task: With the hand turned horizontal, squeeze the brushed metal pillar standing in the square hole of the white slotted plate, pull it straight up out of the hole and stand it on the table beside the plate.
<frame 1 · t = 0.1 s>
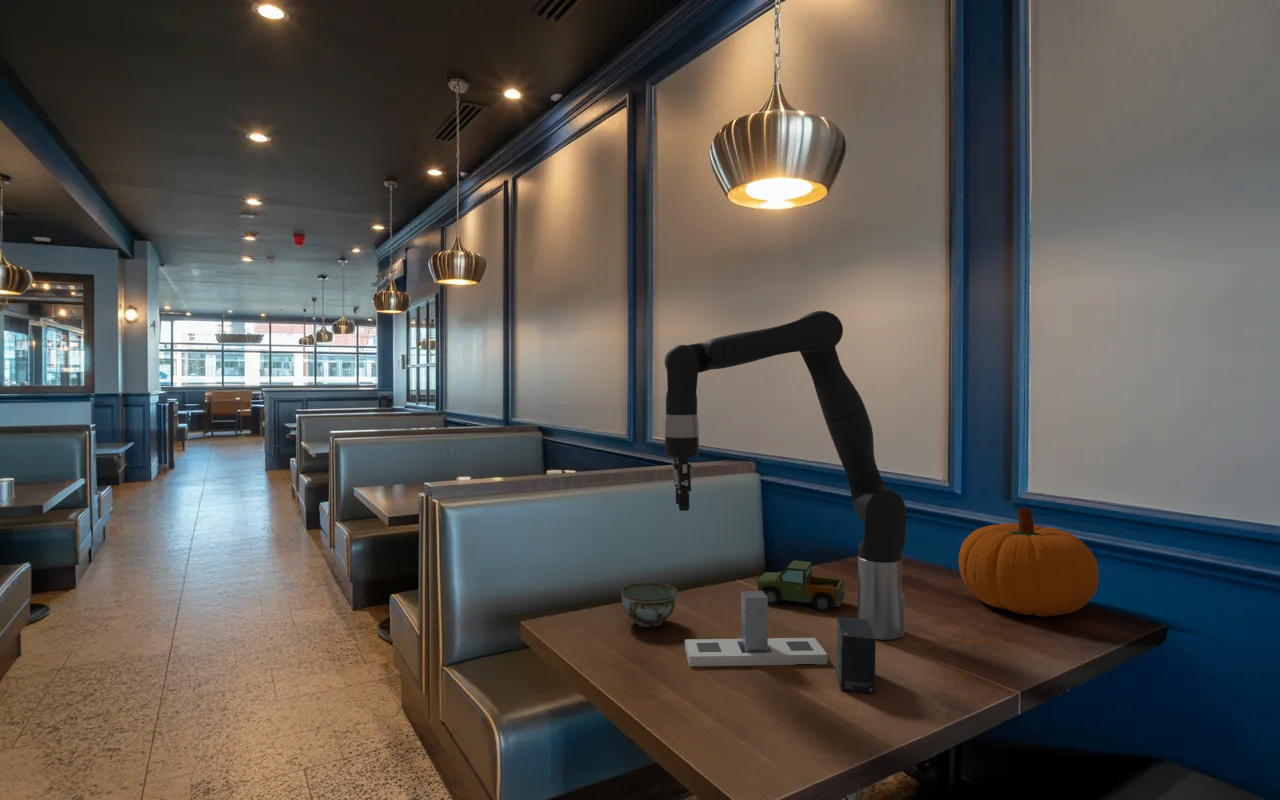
hand: (682, 507, 151), 29 cm above the table, tool pointing down, fingers open, 8 cm apart
white slotted plate: (754, 656, 140), on the table
brushed metal pillar: (754, 625, 140), in the white slotted plate
small box: (855, 681, 128), on the table
decorative pumpkin: (1025, 606, 171), on the table
toy truck: (800, 603, 174), on the table
bowl: (649, 624, 159), on the table
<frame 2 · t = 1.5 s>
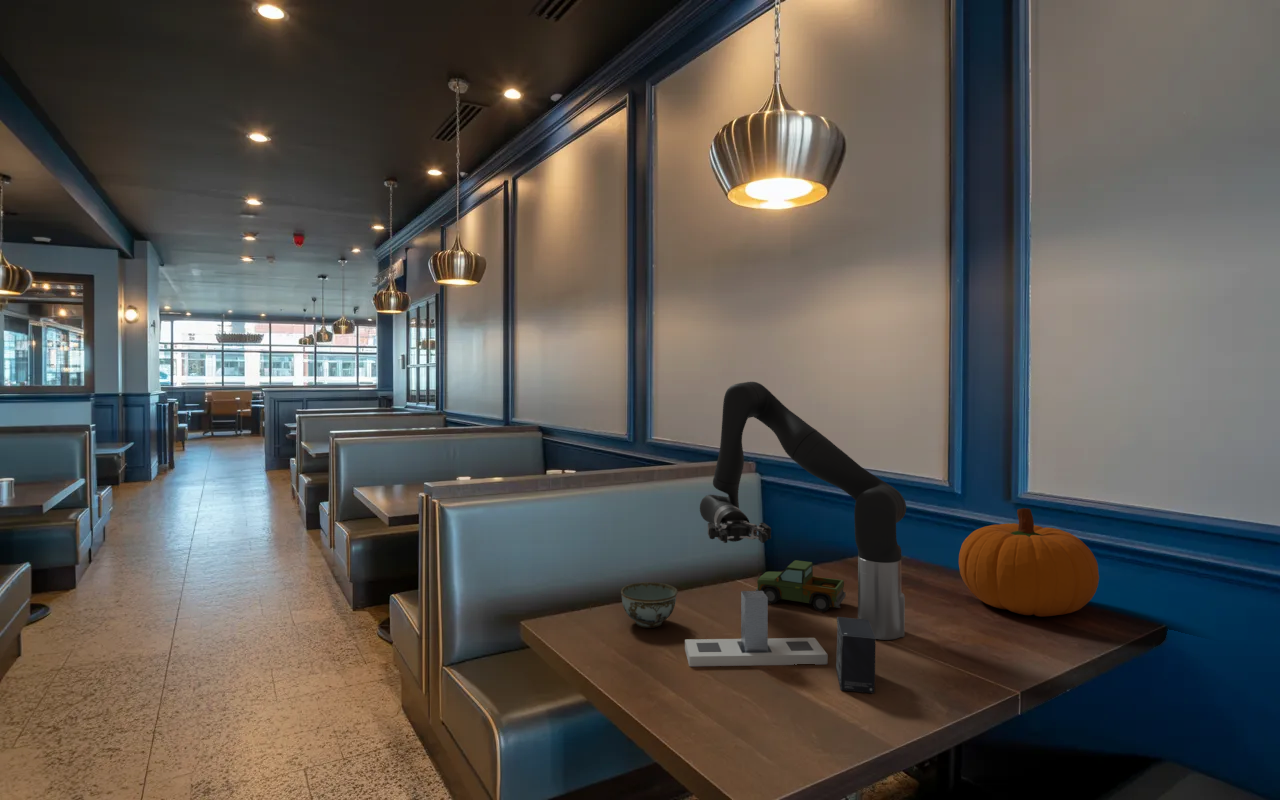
hand: (745, 538, 150), 22 cm above the table, tool horizontal, fingers open, 8 cm apart
nothing on the table moved.
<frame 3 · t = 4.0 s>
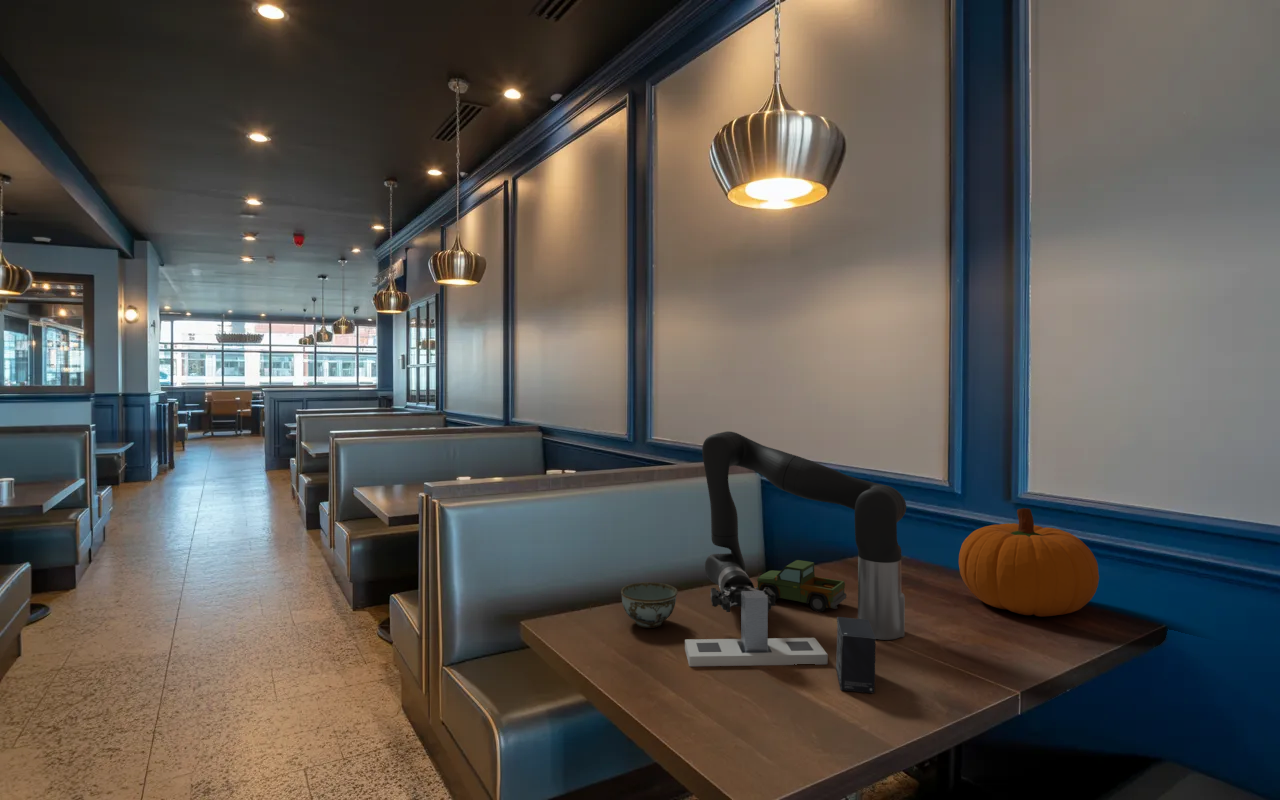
hand: (748, 607, 146), 8 cm above the table, tool horizontal, fingers open, 8 cm apart
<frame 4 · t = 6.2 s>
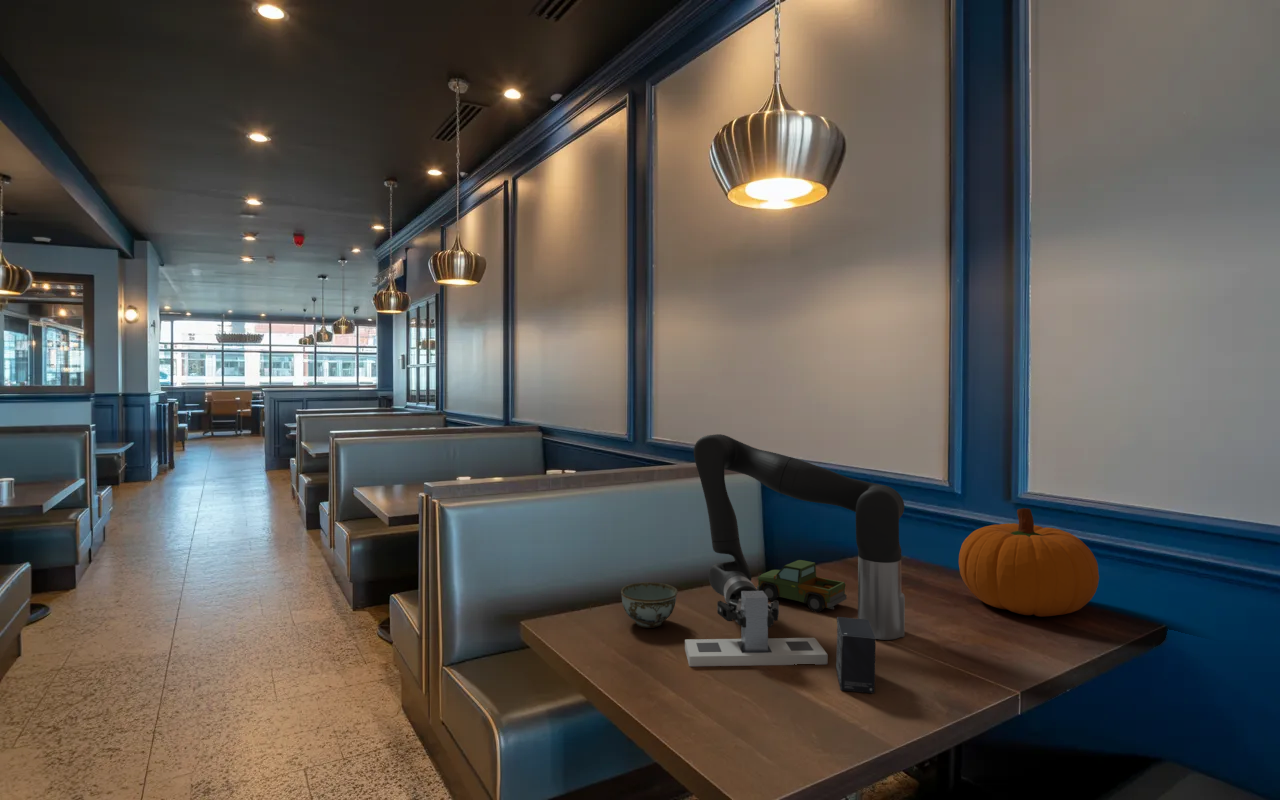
hand: (757, 622, 137), 8 cm above the table, tool horizontal, fingers closed on brushed metal pillar, 4 cm apart
brushed metal pillar: (754, 625, 140), in the white slotted plate, touching gripper
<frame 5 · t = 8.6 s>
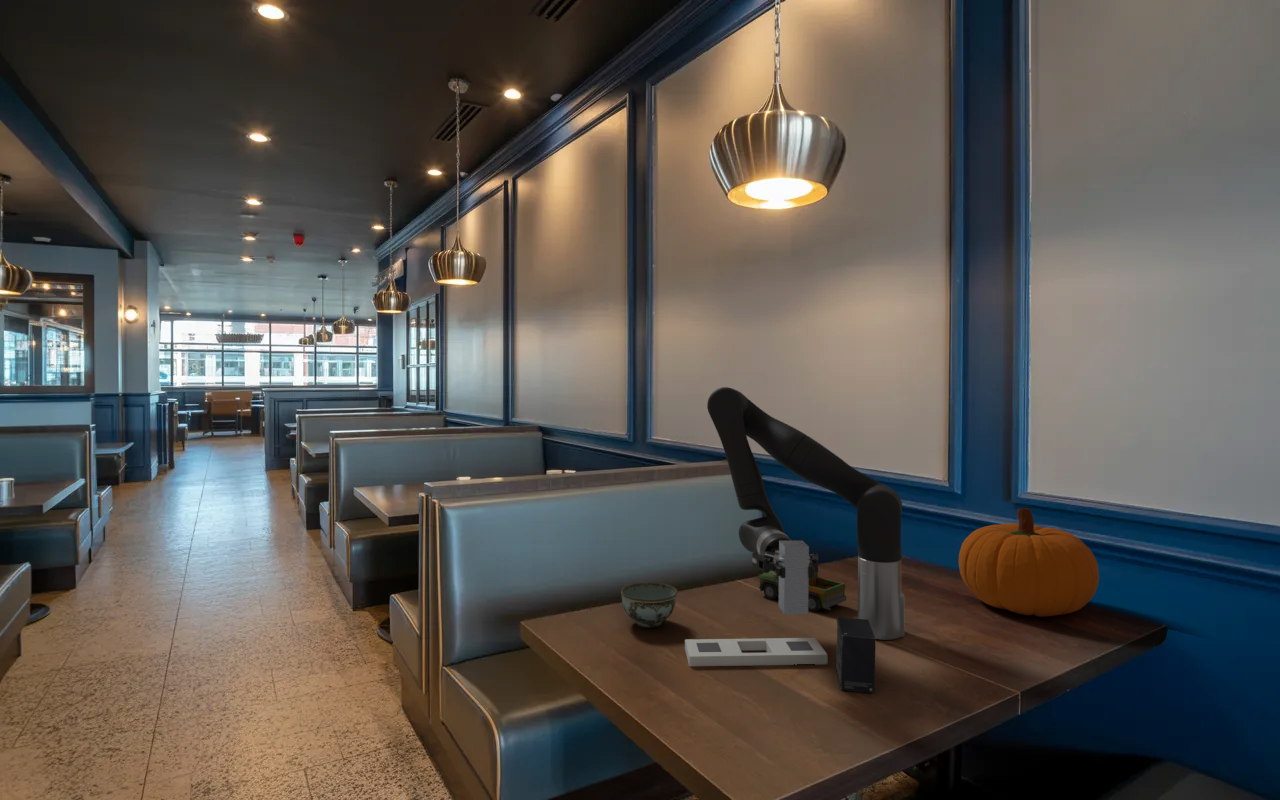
hand: (797, 572, 127), 21 cm above the table, tool horizontal, fingers closed on brushed metal pillar, 4 cm apart
brushed metal pillar: (793, 576, 130), point 19 cm above the table, touching gripper
when the fingers open (9 cm above the table, at t = 11.2 s): brushed metal pillar drops 1 cm, on the table.
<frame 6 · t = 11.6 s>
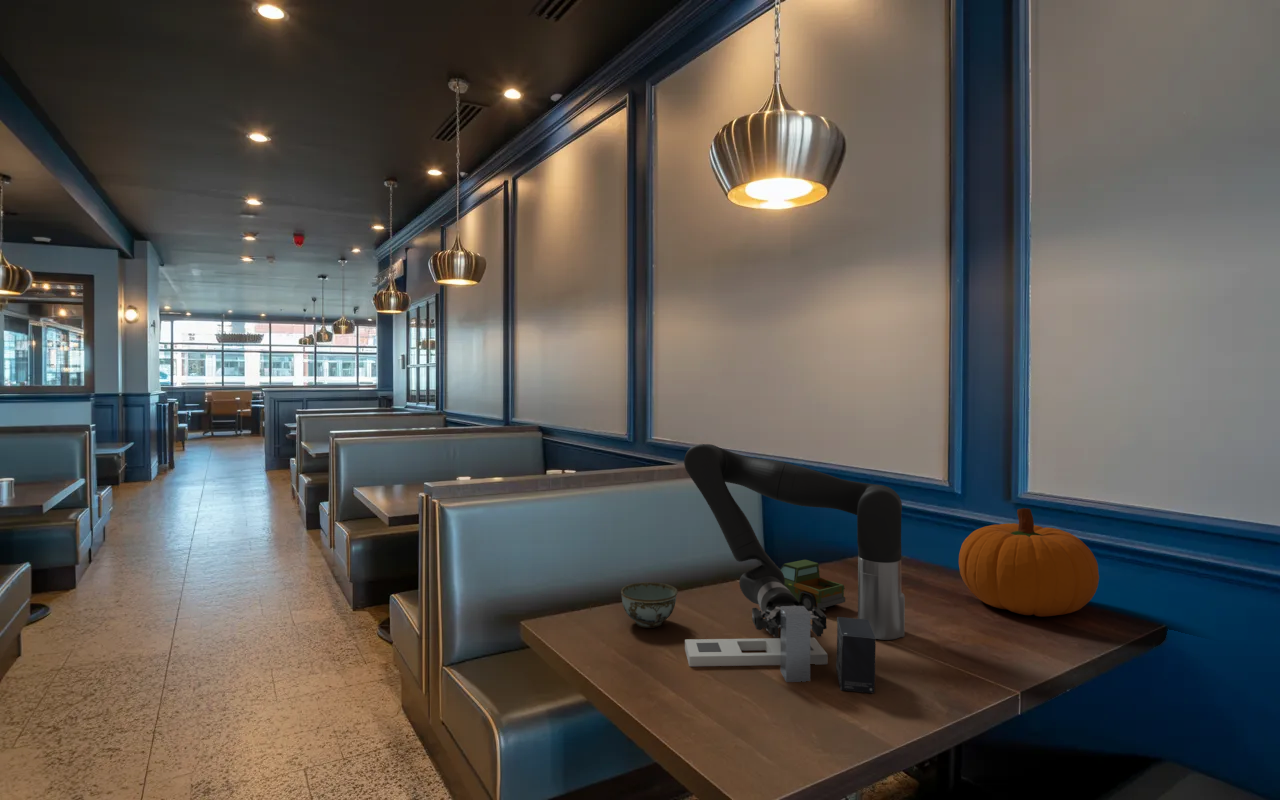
hand: (798, 631, 128), 10 cm above the table, tool horizontal, fingers open, 8 cm apart
brushed metal pillar: (795, 643, 130), on the table
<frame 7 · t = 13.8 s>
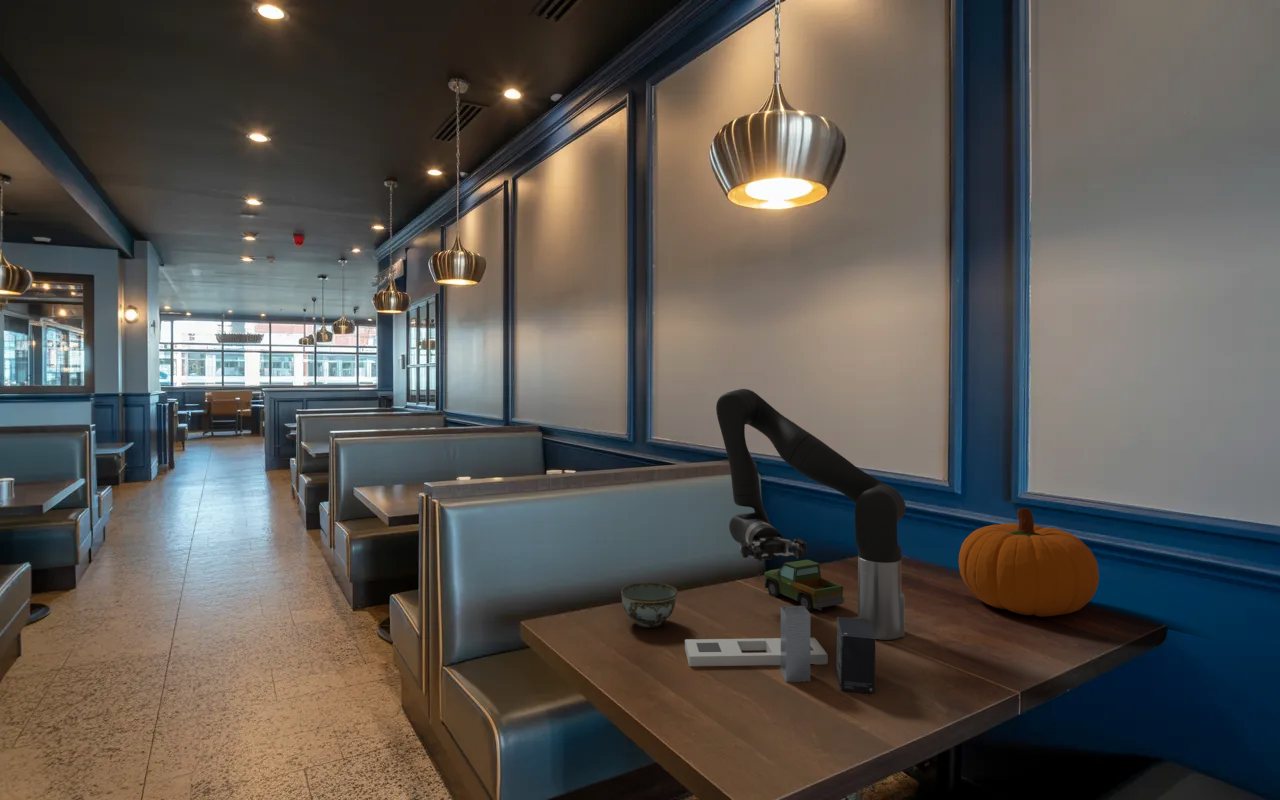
hand: (780, 555, 143), 20 cm above the table, tool horizontal, fingers open, 8 cm apart
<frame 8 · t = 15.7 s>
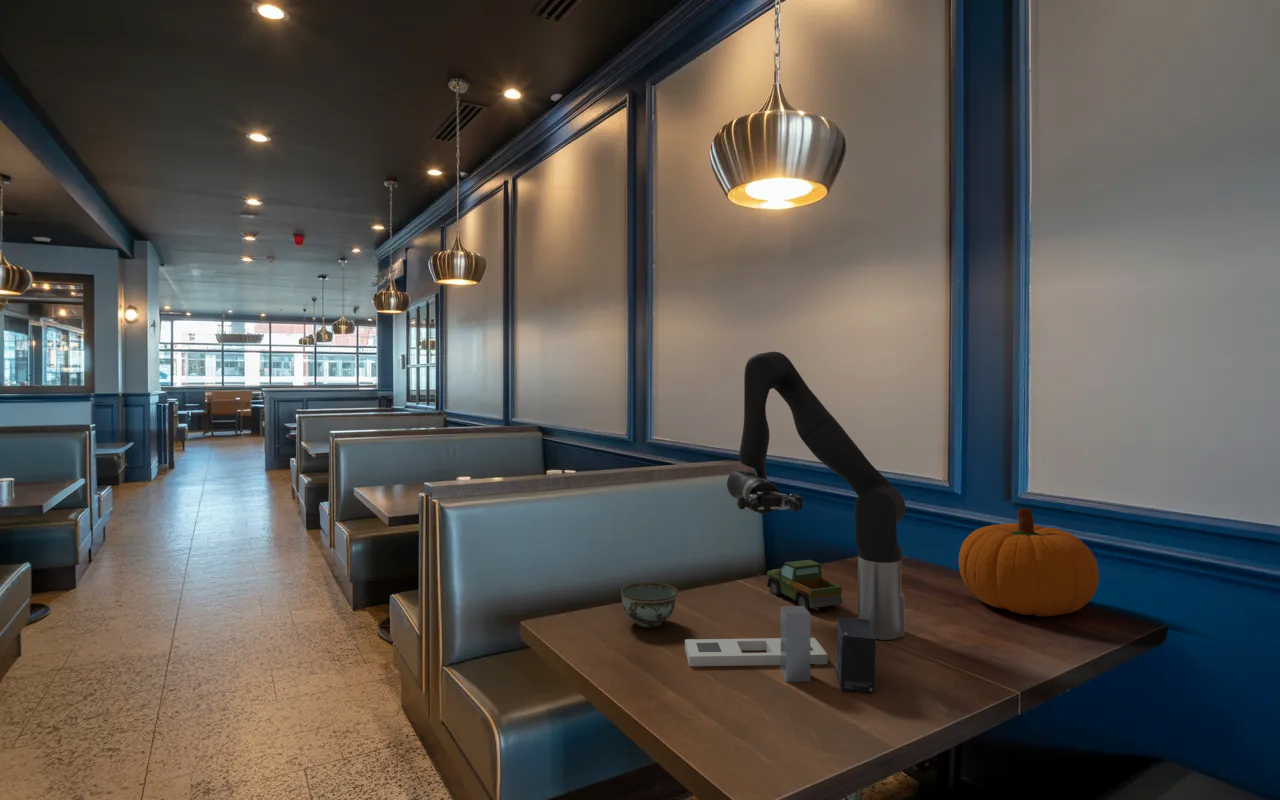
hand: (776, 507, 145), 30 cm above the table, tool horizontal, fingers open, 8 cm apart
at the end: brushed metal pillar inside the target area (0.1 cm from its centre), on the table; brushed metal pillar tilted 0°; brushed metal pillar touching table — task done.
